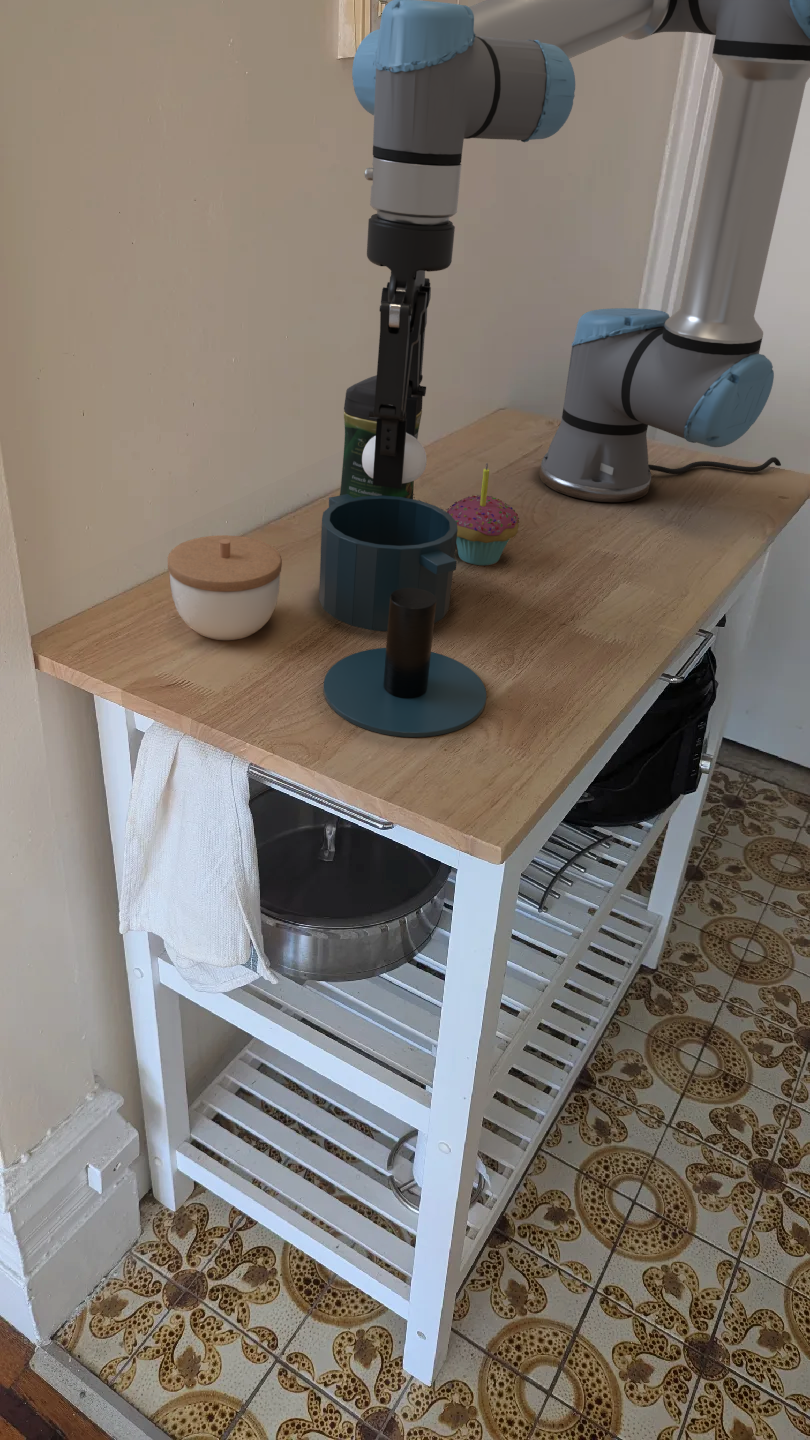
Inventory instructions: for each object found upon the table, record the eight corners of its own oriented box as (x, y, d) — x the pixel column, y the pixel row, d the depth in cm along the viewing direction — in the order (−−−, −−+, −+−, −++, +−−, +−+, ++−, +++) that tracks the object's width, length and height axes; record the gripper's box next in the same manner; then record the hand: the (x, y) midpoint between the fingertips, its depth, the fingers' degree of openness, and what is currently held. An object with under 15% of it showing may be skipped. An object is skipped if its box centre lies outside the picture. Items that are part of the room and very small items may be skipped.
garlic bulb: (431, 470, 106) (439, 390, 102) (416, 491, 101) (423, 407, 97) (371, 460, 107) (376, 380, 103) (352, 480, 102) (357, 397, 98)
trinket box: (237, 667, 99) (236, 576, 94) (147, 634, 103) (142, 544, 98) (301, 624, 107) (304, 537, 102) (216, 595, 111) (214, 510, 106)
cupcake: (509, 577, 120) (523, 475, 114) (435, 566, 121) (445, 464, 115) (517, 548, 127) (531, 450, 121) (448, 537, 128) (458, 440, 122)
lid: (420, 643, 106) (429, 549, 100) (518, 714, 96) (534, 614, 90) (292, 681, 98) (294, 581, 92) (385, 761, 88) (393, 655, 83)
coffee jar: (388, 555, 123) (400, 394, 113) (327, 539, 125) (333, 380, 115) (420, 527, 130) (434, 374, 120) (362, 513, 133) (371, 362, 123)
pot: (384, 559, 122) (390, 479, 117) (490, 628, 109) (502, 543, 104) (282, 582, 115) (283, 499, 109) (383, 660, 102) (389, 570, 97)
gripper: (388, 198, 100) (373, 438, 112) (347, 226, 84) (335, 503, 96) (466, 206, 99) (443, 447, 112) (441, 236, 83) (416, 514, 96)
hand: (393, 472), depth 104 cm, fingers closed on garlic bulb, 6 cm apart
